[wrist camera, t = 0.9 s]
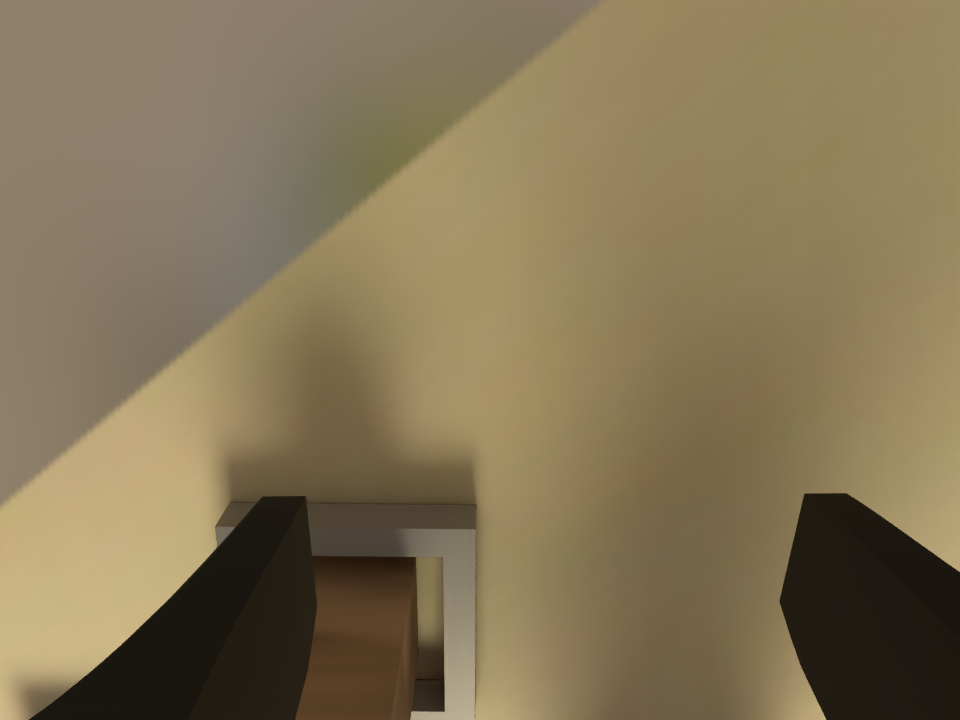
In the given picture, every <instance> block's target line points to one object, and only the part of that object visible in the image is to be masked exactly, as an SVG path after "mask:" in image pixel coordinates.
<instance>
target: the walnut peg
mask: <svg viewBox="0 0 960 720" xmlns="http://www.w3.org/2000/svg"><path fill="white" fill-rule="evenodd" d="M312 559H313V569H314V578H315V587H316V597H317V612H316V619H315V626H314V633H313V641H312V647H311V654H310V660H309V666H308V672H307V676H306V680H305V684H304V688H303V691H302V695H301V699H300V703H299V706H298V710H297V714H296V718H295V720H411V711H412V703H413V695H414V687H415V679H416V671H417V663H418V620H417V580H416V557H373V556H312Z"/></svg>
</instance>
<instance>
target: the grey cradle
mask: <svg viewBox="0 0 960 720" xmlns="http://www.w3.org/2000/svg"><path fill="white" fill-rule="evenodd" d="M255 504H256V503H238V502H230V503H229V505H228V506H227V508H226V510H225V511H224V513H223V515H222V516H221V518H220V520H219V521H218V523H217V524H216V526H215V530H216V538H217V547H218V546H219V545H220V544H221V543H222V542H223V541H224V539H225V538H226V537H227V536H228V535H229V534H230V533H231V531H232V530H233V529H234V528H235V527H236V526H237V524H238V523H239V522H240V521H241V520H242V519H243V518H244V516H245V515H246V514H247V513H248V512H249V511H250V510H251V508H252V507H253V506H254V505H255ZM307 512H308V522H309V531H310V540H311V550H312V556H373V557H443V594H444V678H445V680H415V687H414V695H413V703H412V711H411V720H475V691H476V505H426V504H332V503H307Z"/></svg>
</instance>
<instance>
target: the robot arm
mask: <svg viewBox="0 0 960 720" xmlns="http://www.w3.org/2000/svg"><path fill="white" fill-rule="evenodd" d="M780 605H781V608H782V611H783V614H784V617H785V620H786V624H787V627H788V630H789V633H790V636H791V639H792V642H793V645H794V648H795V650H796V653H797V656H798V659H799V662H800V665H801V667H802V669H803V671H804V674H805V676H806V678H807V680H808V682H809V684H810V686H811V688H812V691H813V693H814V695H815V697H816V699H817V701H818V703H819V705H820V707H821V709H822V711H823V713H824V715H825V717H826V720H960V572H959V571H957V570H956V569H954V568H953V567H952V566H950V565H949V564H947V563H946V562H944V561H943V560H942V559H940V558H939V557H937V556H936V555H935V554H933V553H932V552H930V551H929V550H928V549H926V548H925V547H923V546H922V545H921V544H919V543H918V542H916V541H915V540H914V539H912V538H911V537H909V536H908V535H907V534H905V533H904V532H902V531H901V530H900V529H898V528H897V527H895V526H894V525H893V524H891V523H890V522H888V521H887V520H885V519H884V518H883V517H881V516H880V515H878V514H877V513H875V512H874V511H872V510H871V509H870V508H868V507H867V506H865V505H864V504H862V503H861V502H859V501H857V500H856V499H854V498H853V497H851V496H849V495H848V494H846V493H832V494H804V498H803V502H802V506H801V511H800V515H799V519H798V524H797V528H796V532H795V537H794V541H793V545H792V549H791V554H790V558H789V562H788V567H787V571H786V575H785V580H784V584H783V588H782V593H781V597H780ZM316 612H317V597H316V587H315V578H314V569H313V559H312V550H311V540H310V531H309V522H308V512H307V503H306V496H280V497H262V498H261V499H260V500H259V501H258V502H257V503H256V504H255V505H254V506H253V507H252V508H251V510H250V511H249V512H248V513H247V514H246V515H245V516H244V518H243V519H242V520H241V521H240V522H239V523H238V524H237V526H236V527H235V528H234V529H233V530H232V531H231V533H230V534H229V535H228V536H227V537H226V538H225V539H224V541H223V542H222V543H221V544H220V545H219V546H218V547H217V548H216V549H215V551H214V552H213V553H212V554H211V555H210V556H209V557H208V558H207V559H206V561H205V562H204V563H203V564H202V565H201V566H200V567H199V568H198V569H197V570H196V571H195V572H194V573H193V574H192V575H191V576H190V578H189V579H188V580H187V581H186V582H185V583H184V584H183V585H182V586H181V587H180V588H179V589H178V590H177V591H176V592H175V593H174V594H173V595H172V597H171V598H170V599H169V600H168V601H167V602H166V603H165V604H164V605H163V606H161V607H160V608H159V609H158V610H157V611H156V612H155V613H154V614H153V615H152V616H151V617H150V618H149V619H148V620H147V621H146V622H145V623H144V624H143V625H142V626H141V627H140V628H139V629H138V630H136V631H135V632H134V633H133V634H132V635H131V636H130V637H129V638H128V639H127V640H126V641H125V642H124V643H123V644H122V645H121V646H120V647H118V648H117V649H116V650H115V651H114V652H113V653H112V654H111V655H109V656H108V657H107V658H106V659H105V660H104V661H103V662H102V663H100V664H99V665H98V666H97V667H96V668H95V669H93V670H92V671H91V672H90V673H89V674H88V675H86V676H85V677H84V678H83V679H81V680H80V681H79V682H78V683H76V684H75V685H74V686H73V687H72V688H70V689H69V690H68V691H67V692H65V693H64V694H63V695H62V696H60V697H59V698H58V699H56V700H55V701H54V702H53V703H51V704H50V705H49V706H47V707H46V708H45V709H43V710H42V711H40V712H39V713H38V714H36V715H35V716H33V717H32V718H31V719H29V720H295V718H296V714H297V710H298V706H299V703H300V699H301V695H302V691H303V688H304V684H305V680H306V676H307V672H308V666H309V660H310V654H311V647H312V641H313V633H314V626H315V619H316Z"/></svg>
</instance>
